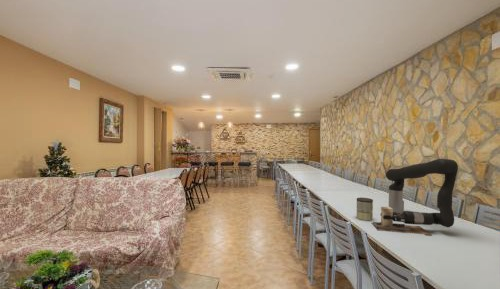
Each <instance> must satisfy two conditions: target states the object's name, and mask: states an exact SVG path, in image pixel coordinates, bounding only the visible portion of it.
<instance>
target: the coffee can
mask: <svg viewBox="0 0 500 289" xmlns="http://www.w3.org/2000/svg"><path fill="white" fill-rule="evenodd" d="M373 206H374V198H373V199H372V198H370V197H369V198H368V197H357V198H356V219H357V220H360V221H366V222H373V217H374V216H373V214H374V212H373V210H374V207H373Z"/></svg>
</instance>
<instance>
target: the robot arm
mask: <svg viewBox="0 0 500 289" xmlns="http://www.w3.org/2000/svg"><path fill="white" fill-rule="evenodd" d="M458 170H459V165H458V163H457V162H456V160H454V159H449V158H437V159H433V160H430V161H428V162H421V163H416V164H412V165H408V166H403V167H400V168H390V169H388V170H387V171H386V173H385V177H386V179H387V180H389V181H391V182H393V183H392V184H389V186H388V207H390V208H392V209H393V216H388V215H384V216H383V218H384V219H389V220H390V219H391V220H393V222H398V223H403V224H405V225H415V226H421V225H424V226H432V225H440V226H442V227H444V228H451V227H452V226H453V225H454V224H455V214H454V211H453V196H454V194H453V193H454V187H455V185H456V179H457V175H458ZM431 174H432V175H433V174H434V175H435V174H438V175H444V181H443V183H442V185H441V186H440V188H439V190H438V193H437V196H436V198H437V199H436V207H437V208H438V209H439V212H421V211H410V210H405V200H404V198H403V196H404V194H403V193H404V187H405V179H406V180H407V179H412V180H414V179H420V178H424V177H426V176H427V175H431Z"/></svg>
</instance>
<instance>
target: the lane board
mask: <svg viewBox="0 0 500 289" xmlns="http://www.w3.org/2000/svg"><path fill="white" fill-rule="evenodd" d="M371 226H373V227H374V228H375V229H376V231H379V232H391V233H402V234H403V233H404V234H405V233H406V234H417V235H418V234H419V235H425V236H427V237H428V236H429V237H433V234H432V233H430V232H429V231H427V230H426V229H424V228H423V227H422V226H421V225H411V224H405V223H396V222H395V223H393V227H384V226H381V221H378V222H377V221H372V222H371Z"/></svg>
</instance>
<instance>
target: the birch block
mask: <svg viewBox="0 0 500 289" xmlns="http://www.w3.org/2000/svg"><path fill="white" fill-rule="evenodd" d="M380 210H381V212H380V222H381V226H384V227H393V222H394V221H393V220H391V219H390V220H389V219H384V218H383V216H384V215H388V216H393V209H392V208H390V207H389V206H381V207H380Z"/></svg>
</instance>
